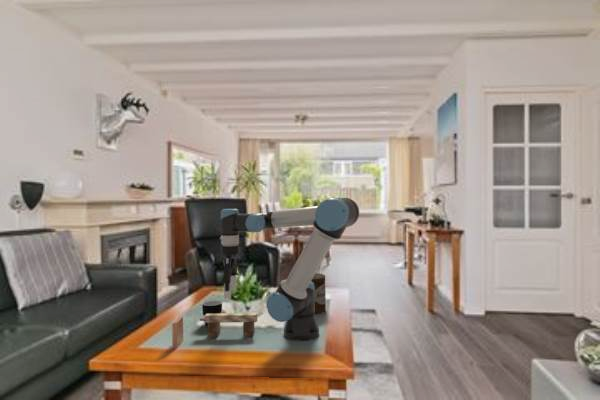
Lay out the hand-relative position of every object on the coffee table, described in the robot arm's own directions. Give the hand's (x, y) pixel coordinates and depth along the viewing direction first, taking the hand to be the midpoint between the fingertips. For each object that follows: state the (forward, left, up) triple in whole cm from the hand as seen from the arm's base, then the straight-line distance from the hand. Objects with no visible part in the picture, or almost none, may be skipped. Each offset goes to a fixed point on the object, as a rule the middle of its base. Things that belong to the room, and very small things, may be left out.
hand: (230, 294), depth 173 cm
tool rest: (0, 0, -18) cm, 18 cm away
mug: (+12, -16, -18) cm, 27 cm away
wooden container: (-35, -35, -18) cm, 53 cm away
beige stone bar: (0, 0, -12) cm, 12 cm away
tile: (+20, +10, -18) cm, 28 cm away
